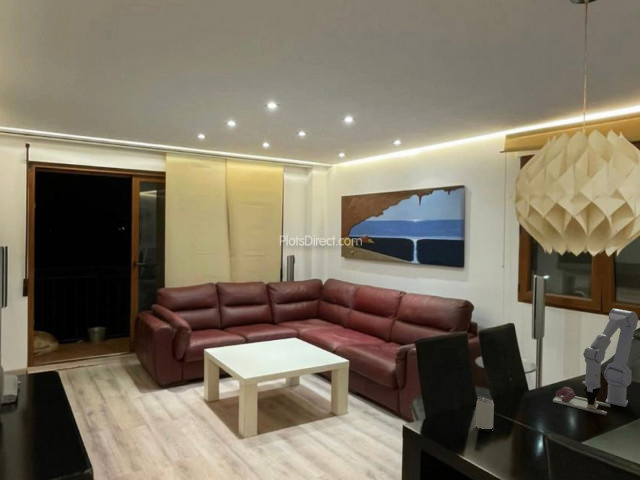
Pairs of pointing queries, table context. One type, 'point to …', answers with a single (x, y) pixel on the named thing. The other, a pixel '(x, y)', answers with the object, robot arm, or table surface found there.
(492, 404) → the can
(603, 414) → the aluminium rails
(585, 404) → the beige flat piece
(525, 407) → the table surface
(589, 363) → the robot arm
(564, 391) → the purple lumpy piece
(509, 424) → the table surface
